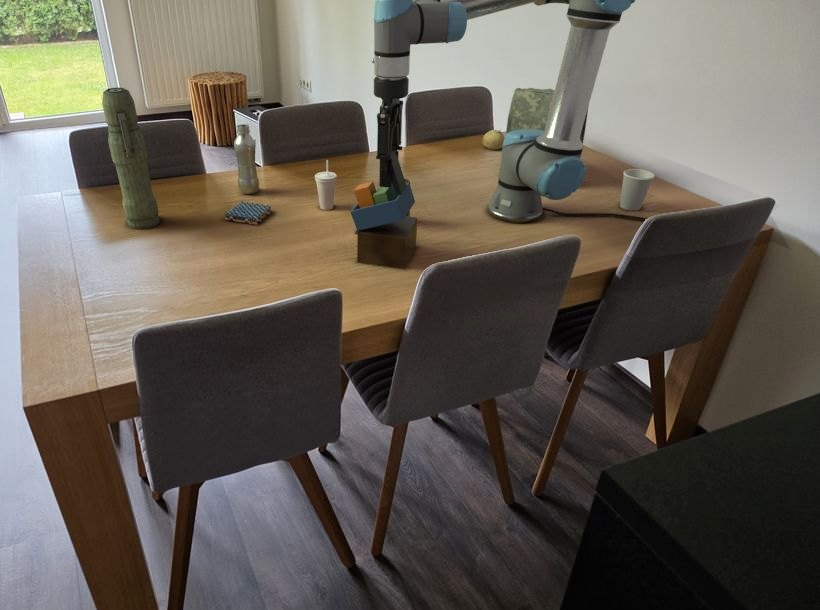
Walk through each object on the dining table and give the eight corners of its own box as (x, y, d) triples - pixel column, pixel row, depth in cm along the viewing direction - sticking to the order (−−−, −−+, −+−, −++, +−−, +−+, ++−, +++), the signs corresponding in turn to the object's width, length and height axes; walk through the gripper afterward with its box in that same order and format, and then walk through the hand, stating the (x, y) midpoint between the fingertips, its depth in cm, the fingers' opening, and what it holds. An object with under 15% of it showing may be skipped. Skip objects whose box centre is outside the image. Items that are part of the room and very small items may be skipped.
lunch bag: (578, 174, 203) (597, 86, 187) (563, 189, 191) (582, 97, 176) (513, 162, 212) (526, 78, 196) (496, 176, 201) (508, 88, 185)
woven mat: (223, 220, 172) (222, 213, 171) (241, 207, 180) (240, 200, 179) (256, 226, 169) (255, 219, 168) (273, 211, 177) (272, 205, 176)
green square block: (399, 206, 150) (392, 183, 147) (393, 216, 145) (385, 192, 142) (387, 209, 151) (380, 186, 149) (380, 218, 147) (372, 195, 144)
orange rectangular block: (383, 211, 151) (373, 180, 147) (379, 218, 148) (368, 186, 144) (369, 215, 153) (358, 184, 149) (364, 221, 150) (353, 190, 146)
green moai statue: (154, 212, 177) (128, 83, 157) (165, 226, 168) (139, 92, 148) (122, 218, 173) (92, 86, 153) (132, 233, 165) (101, 96, 145)
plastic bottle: (234, 194, 188) (226, 127, 177) (245, 187, 193) (239, 122, 182) (253, 197, 186) (246, 130, 175) (263, 190, 191) (258, 124, 180)
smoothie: (334, 212, 177) (333, 164, 169) (313, 210, 178) (311, 163, 170) (339, 204, 182) (339, 157, 174) (318, 202, 183) (317, 155, 175)
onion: (481, 151, 223) (484, 131, 219) (481, 144, 230) (484, 125, 225) (504, 152, 222) (506, 132, 218) (503, 145, 228) (506, 126, 224)
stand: (416, 245, 159) (418, 214, 154) (402, 270, 148) (404, 237, 143) (370, 239, 162) (371, 208, 157) (353, 262, 151) (353, 230, 146)
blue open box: (416, 201, 151) (399, 145, 145) (404, 220, 142) (385, 161, 135) (371, 212, 156) (353, 159, 150) (357, 230, 147) (337, 175, 141)
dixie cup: (649, 206, 180) (659, 173, 174) (638, 214, 175) (648, 180, 170) (622, 199, 185) (630, 166, 179) (610, 207, 180) (618, 173, 174)
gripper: (385, 67, 139) (383, 168, 152) (362, 84, 125) (362, 194, 138) (417, 69, 137) (412, 171, 150) (397, 86, 123) (394, 197, 136)
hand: (388, 182), depth 144 cm, fingers closed on blue open box, 5 cm apart
